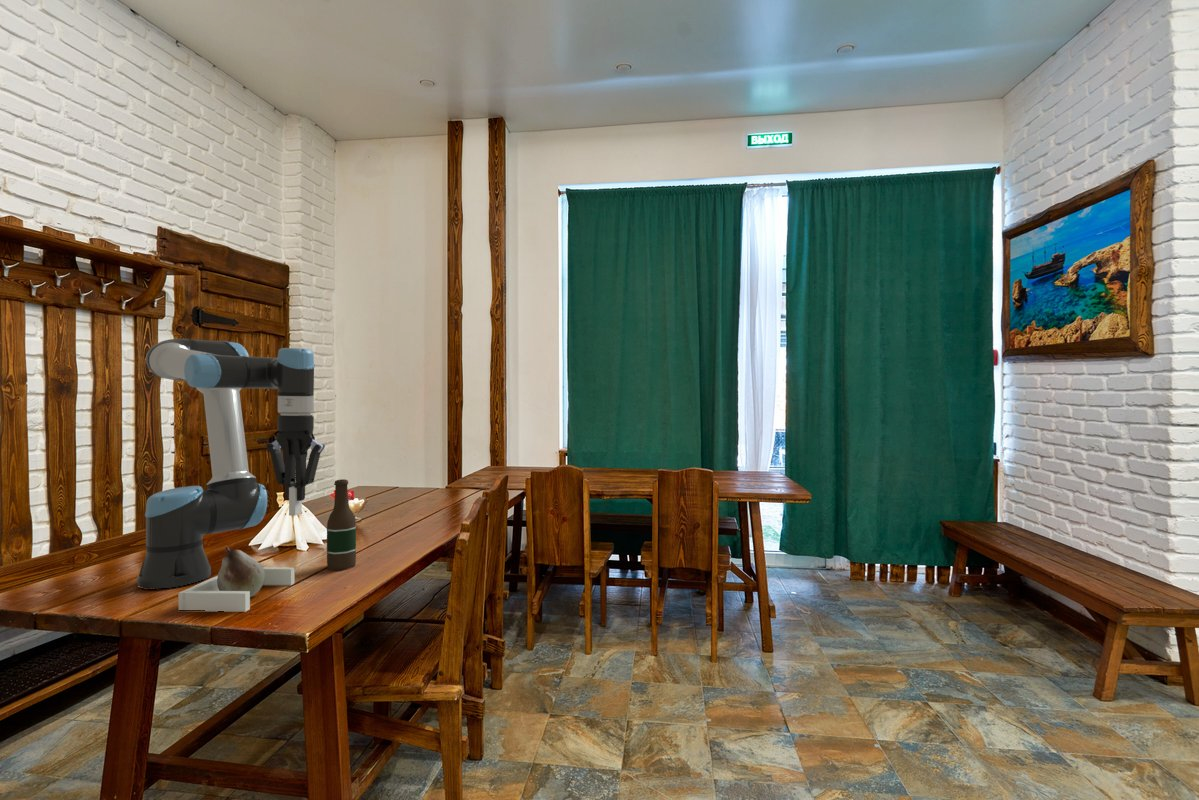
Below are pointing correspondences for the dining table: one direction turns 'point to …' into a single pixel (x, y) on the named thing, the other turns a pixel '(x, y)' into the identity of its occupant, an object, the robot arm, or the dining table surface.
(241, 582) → the fruit
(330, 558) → the beer bottle
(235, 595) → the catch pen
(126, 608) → the dining table surface
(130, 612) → the dining table surface
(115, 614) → the dining table surface
